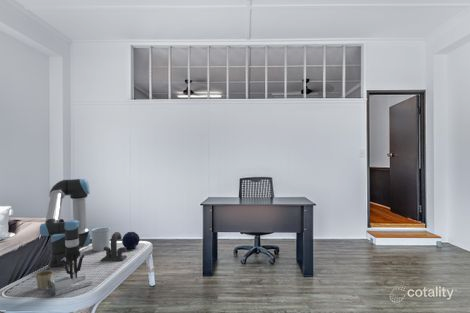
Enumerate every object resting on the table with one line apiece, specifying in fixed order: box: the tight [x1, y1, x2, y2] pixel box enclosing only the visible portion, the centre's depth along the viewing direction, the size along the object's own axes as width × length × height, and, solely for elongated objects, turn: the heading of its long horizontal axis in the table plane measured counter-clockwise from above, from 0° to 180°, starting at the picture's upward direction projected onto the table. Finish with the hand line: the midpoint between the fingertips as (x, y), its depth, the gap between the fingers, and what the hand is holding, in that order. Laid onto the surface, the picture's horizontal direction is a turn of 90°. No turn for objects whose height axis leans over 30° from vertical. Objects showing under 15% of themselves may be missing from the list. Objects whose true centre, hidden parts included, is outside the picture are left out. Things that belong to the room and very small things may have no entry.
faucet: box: [100, 231, 128, 262], centre depth 232 cm, size 18×16×20 cm
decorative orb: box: [121, 231, 140, 250], centre depth 256 cm, size 14×15×15 cm
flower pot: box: [34, 270, 54, 291], centre depth 179 cm, size 9×9×9 cm
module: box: [51, 275, 73, 291], centre depth 176 cm, size 6×9×6 cm, turn 136°
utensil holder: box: [91, 226, 111, 252], centre depth 256 cm, size 15×15×18 cm
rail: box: [47, 275, 93, 297], centre depth 179 cm, size 13×21×5 cm, turn 134°
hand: (73, 283), depth 180 cm, fingers closed
